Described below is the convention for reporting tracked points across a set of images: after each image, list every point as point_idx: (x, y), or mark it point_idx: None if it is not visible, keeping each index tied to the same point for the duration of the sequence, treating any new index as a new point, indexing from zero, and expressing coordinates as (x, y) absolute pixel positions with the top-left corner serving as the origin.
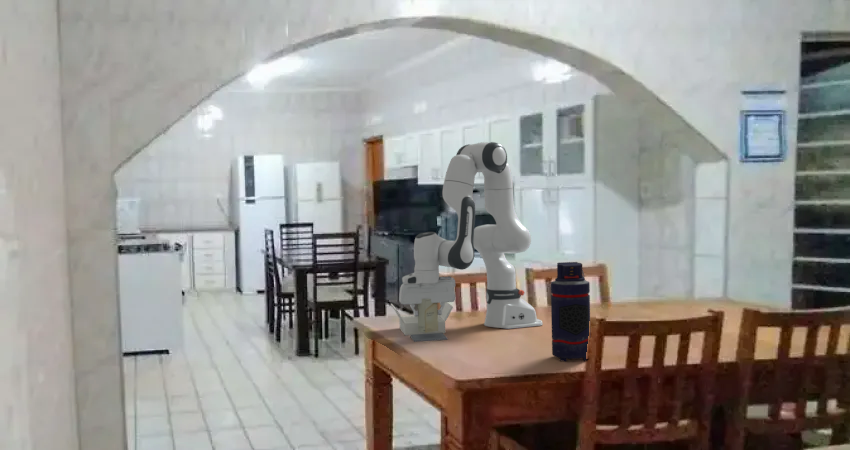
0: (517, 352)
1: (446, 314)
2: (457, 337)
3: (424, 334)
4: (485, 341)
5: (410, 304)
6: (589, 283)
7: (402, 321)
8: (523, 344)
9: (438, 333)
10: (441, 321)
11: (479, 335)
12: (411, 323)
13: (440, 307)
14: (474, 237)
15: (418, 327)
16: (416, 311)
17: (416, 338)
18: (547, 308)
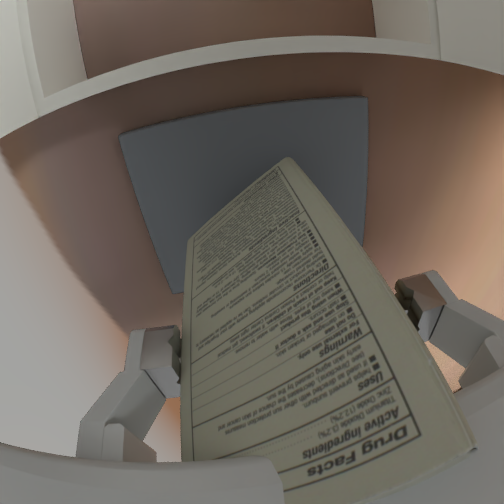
0: (444, 376)
1: (493, 27)
2: (417, 203)
3: (230, 132)
4: (463, 286)
5: (86, 452)
6: None
7: (7, 78)
8: (500, 315)
9: (339, 113)
10: (415, 56)
11: (499, 177)
12: (97, 93)
13: (464, 325)
14: None
15: (188, 262)
16: (170, 395)
17: (180, 258)
18: None
